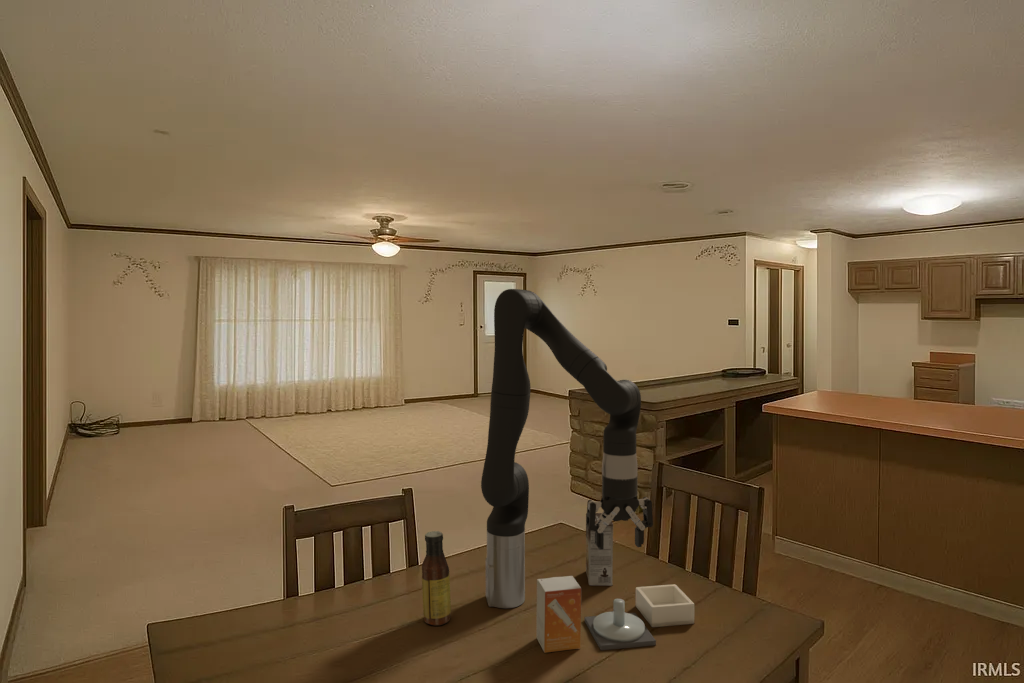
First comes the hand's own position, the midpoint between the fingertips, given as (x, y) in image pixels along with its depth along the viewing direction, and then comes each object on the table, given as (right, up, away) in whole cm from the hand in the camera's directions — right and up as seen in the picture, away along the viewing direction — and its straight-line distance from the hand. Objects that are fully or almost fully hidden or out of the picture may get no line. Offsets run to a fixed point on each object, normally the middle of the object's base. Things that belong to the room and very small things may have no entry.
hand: (619, 547), depth 130 cm
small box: (-14, -19, -3) cm, 24 cm away
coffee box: (0, -18, +28) cm, 33 cm away
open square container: (+12, -19, +9) cm, 24 cm away
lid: (0, -18, +1) cm, 18 cm away
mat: (0, -19, +1) cm, 19 cm away
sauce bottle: (-40, -19, +6) cm, 45 cm away
